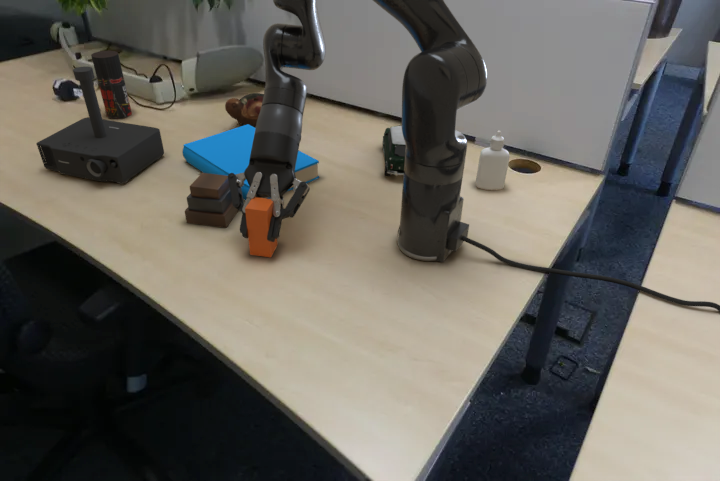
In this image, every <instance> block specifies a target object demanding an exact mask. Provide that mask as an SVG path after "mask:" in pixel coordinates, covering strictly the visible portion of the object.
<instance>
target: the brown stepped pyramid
mask: <svg viewBox="0 0 720 481" xmlns="http://www.w3.org/2000/svg"><path fill="white" fill-rule="evenodd" d="M189 191H190V193H189V194H188V196H186V202H187V207H186V209H185V210H184V216H185V221H186V223H188V224H194V225H203V226H207V227H208V226H210V227H217V228H224V229H226V228H227V227H228V226H229V225H230V224H231V222H232V221H233V219H234V218H235V216H236V215H237V213H238V212H240V211H239V210H238V209H236V208H235V207H233V205H232V199H231V193H230V187H229V181H228V176H226V175H218V174H209V173H203V172H201V173H200V174H199V175H198V177H197V178H195V180H194V181H192V183H190V185H189Z"/></svg>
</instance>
